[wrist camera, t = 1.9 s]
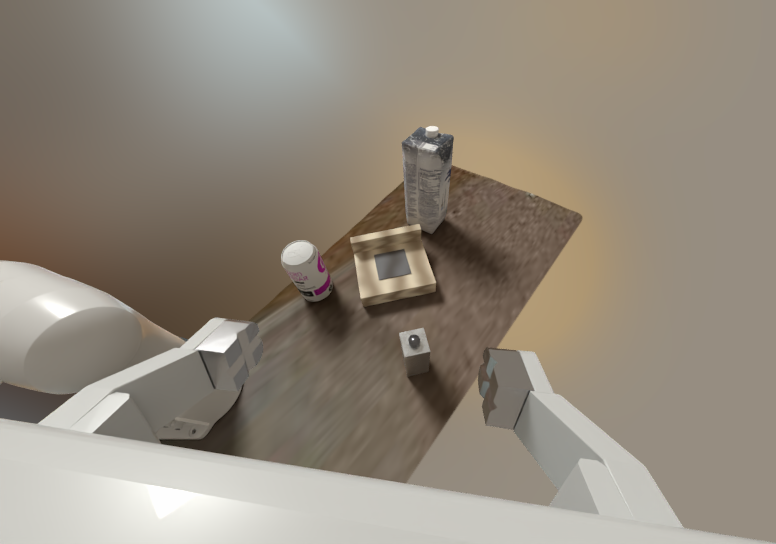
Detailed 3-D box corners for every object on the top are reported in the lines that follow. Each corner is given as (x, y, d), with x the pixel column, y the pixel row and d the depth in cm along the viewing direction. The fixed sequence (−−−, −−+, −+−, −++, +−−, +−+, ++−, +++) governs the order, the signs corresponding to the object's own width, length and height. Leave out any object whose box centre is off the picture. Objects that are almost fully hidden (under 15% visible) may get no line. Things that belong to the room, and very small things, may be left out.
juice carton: (433, 238, 78) (438, 148, 56) (402, 225, 83) (396, 136, 61) (448, 219, 82) (459, 128, 60) (418, 207, 86) (418, 118, 65)
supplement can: (331, 273, 75) (314, 234, 62) (335, 298, 70) (317, 262, 58) (302, 280, 74) (278, 242, 62) (303, 306, 69) (278, 271, 57)
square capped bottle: (407, 376, 57) (404, 355, 46) (402, 355, 60) (398, 330, 49) (428, 372, 57) (430, 349, 47) (423, 351, 60) (423, 325, 49)
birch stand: (363, 306, 67) (357, 289, 61) (356, 257, 77) (350, 237, 70) (435, 291, 68) (437, 273, 62) (419, 244, 77) (419, 223, 71)
